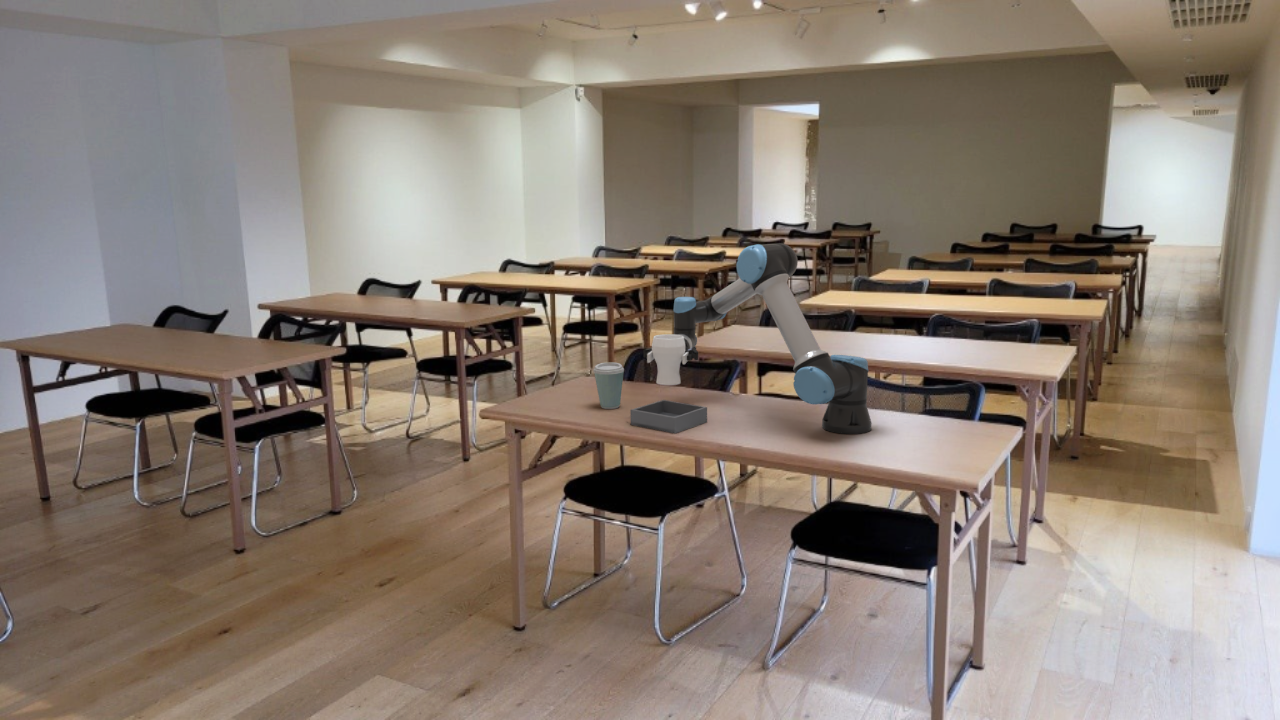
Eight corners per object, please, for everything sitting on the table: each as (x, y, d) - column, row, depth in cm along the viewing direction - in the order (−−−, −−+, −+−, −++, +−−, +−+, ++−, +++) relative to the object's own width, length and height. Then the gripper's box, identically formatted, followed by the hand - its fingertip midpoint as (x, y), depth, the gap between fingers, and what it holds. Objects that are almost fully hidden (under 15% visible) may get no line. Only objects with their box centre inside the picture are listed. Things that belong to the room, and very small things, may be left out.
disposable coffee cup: (624, 410, 312) (623, 367, 310) (592, 410, 313) (591, 367, 310) (625, 403, 323) (624, 361, 320) (594, 403, 323) (594, 361, 320)
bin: (707, 422, 297) (707, 407, 296) (674, 433, 283) (675, 417, 282) (663, 414, 307) (663, 399, 306) (630, 424, 294) (630, 409, 293)
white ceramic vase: (685, 386, 288) (686, 339, 285) (652, 386, 288) (652, 339, 285) (684, 379, 298) (684, 333, 295) (651, 379, 298) (651, 334, 295)
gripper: (712, 359, 307) (702, 372, 286) (645, 356, 312) (630, 369, 291) (713, 337, 305) (702, 348, 284) (645, 335, 310) (630, 346, 289)
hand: (665, 359), depth 287 cm, fingers closed on white ceramic vase, 11 cm apart
